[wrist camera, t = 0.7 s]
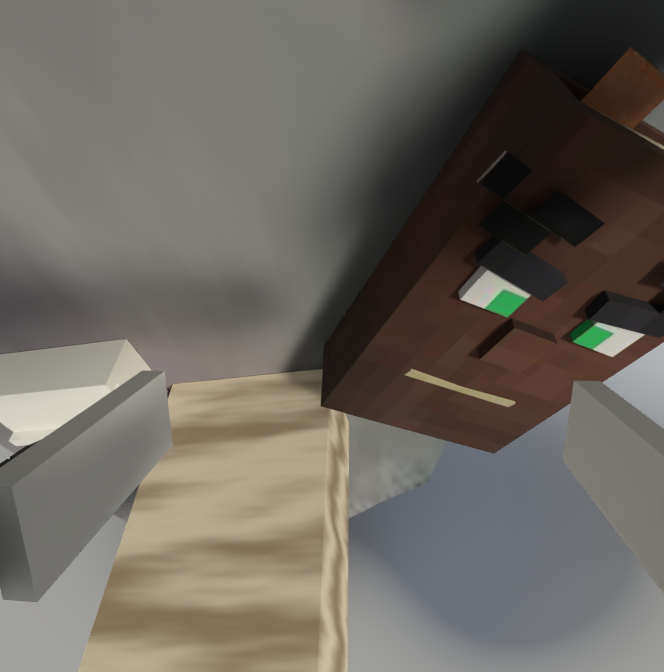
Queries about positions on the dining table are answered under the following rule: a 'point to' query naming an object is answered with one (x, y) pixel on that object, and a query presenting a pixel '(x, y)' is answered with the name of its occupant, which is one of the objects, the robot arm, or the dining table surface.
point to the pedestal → (235, 538)
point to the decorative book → (516, 264)
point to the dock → (60, 384)
